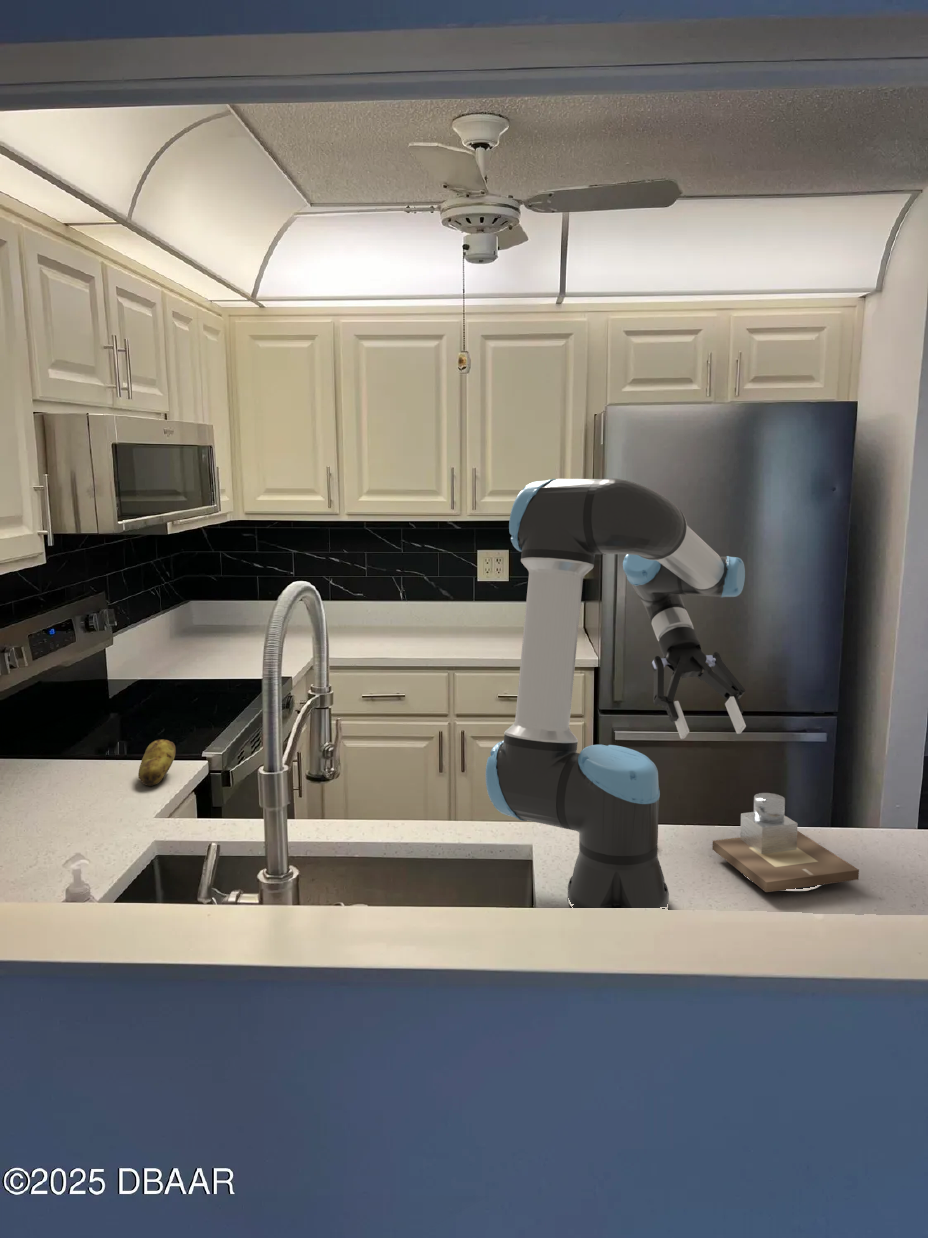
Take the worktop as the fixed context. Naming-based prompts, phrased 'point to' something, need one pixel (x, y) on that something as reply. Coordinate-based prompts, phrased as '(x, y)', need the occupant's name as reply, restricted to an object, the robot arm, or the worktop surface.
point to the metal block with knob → (768, 825)
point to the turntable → (786, 864)
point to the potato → (156, 761)
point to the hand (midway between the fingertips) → (713, 732)
